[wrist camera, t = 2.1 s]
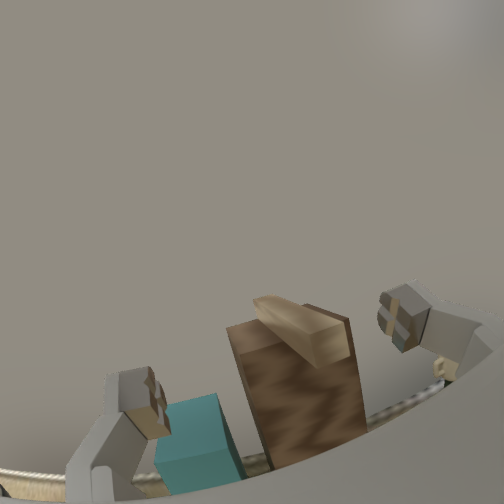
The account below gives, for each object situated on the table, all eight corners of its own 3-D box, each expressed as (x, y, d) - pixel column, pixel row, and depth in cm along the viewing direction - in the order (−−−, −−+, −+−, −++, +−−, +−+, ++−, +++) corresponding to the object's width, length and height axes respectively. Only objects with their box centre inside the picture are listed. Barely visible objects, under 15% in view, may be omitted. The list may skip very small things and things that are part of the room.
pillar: (292, 517, 30) (239, 354, 30) (270, 468, 43) (225, 328, 43) (372, 483, 32) (348, 318, 32) (336, 443, 45) (307, 303, 45)
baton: (317, 369, 22) (309, 334, 22) (257, 318, 43) (252, 299, 43) (350, 355, 22) (343, 322, 22) (276, 313, 44) (272, 293, 44)
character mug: (467, 384, 46) (466, 323, 46) (490, 395, 39) (491, 331, 39) (424, 408, 45) (420, 346, 45) (445, 424, 38) (445, 358, 38)
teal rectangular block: (207, 548, 26) (153, 463, 26) (200, 486, 41) (163, 405, 41) (266, 535, 28) (227, 448, 27) (247, 475, 42) (216, 392, 42)
